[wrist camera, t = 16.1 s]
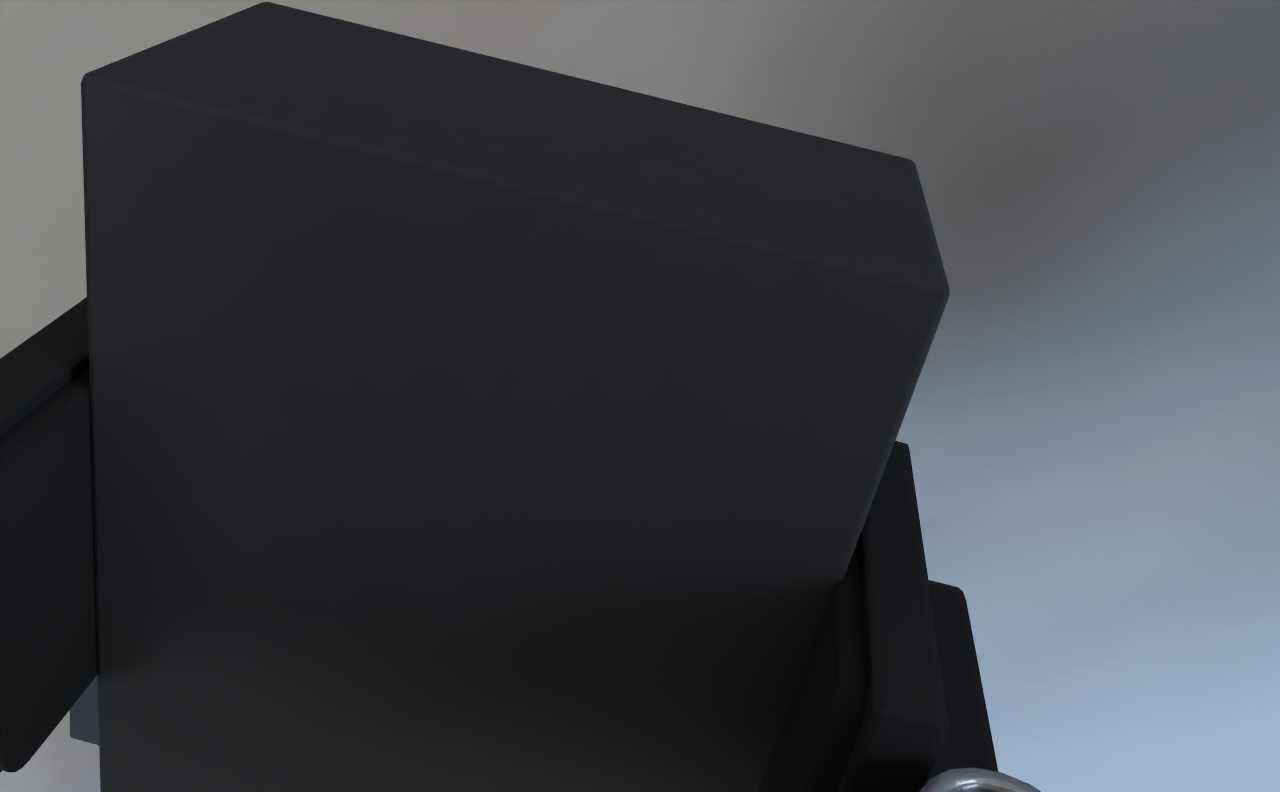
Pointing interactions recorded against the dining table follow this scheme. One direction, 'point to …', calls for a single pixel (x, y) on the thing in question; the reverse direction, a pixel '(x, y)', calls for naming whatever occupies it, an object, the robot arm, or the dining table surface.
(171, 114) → the pad
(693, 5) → the dining table surface
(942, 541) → the dining table surface
